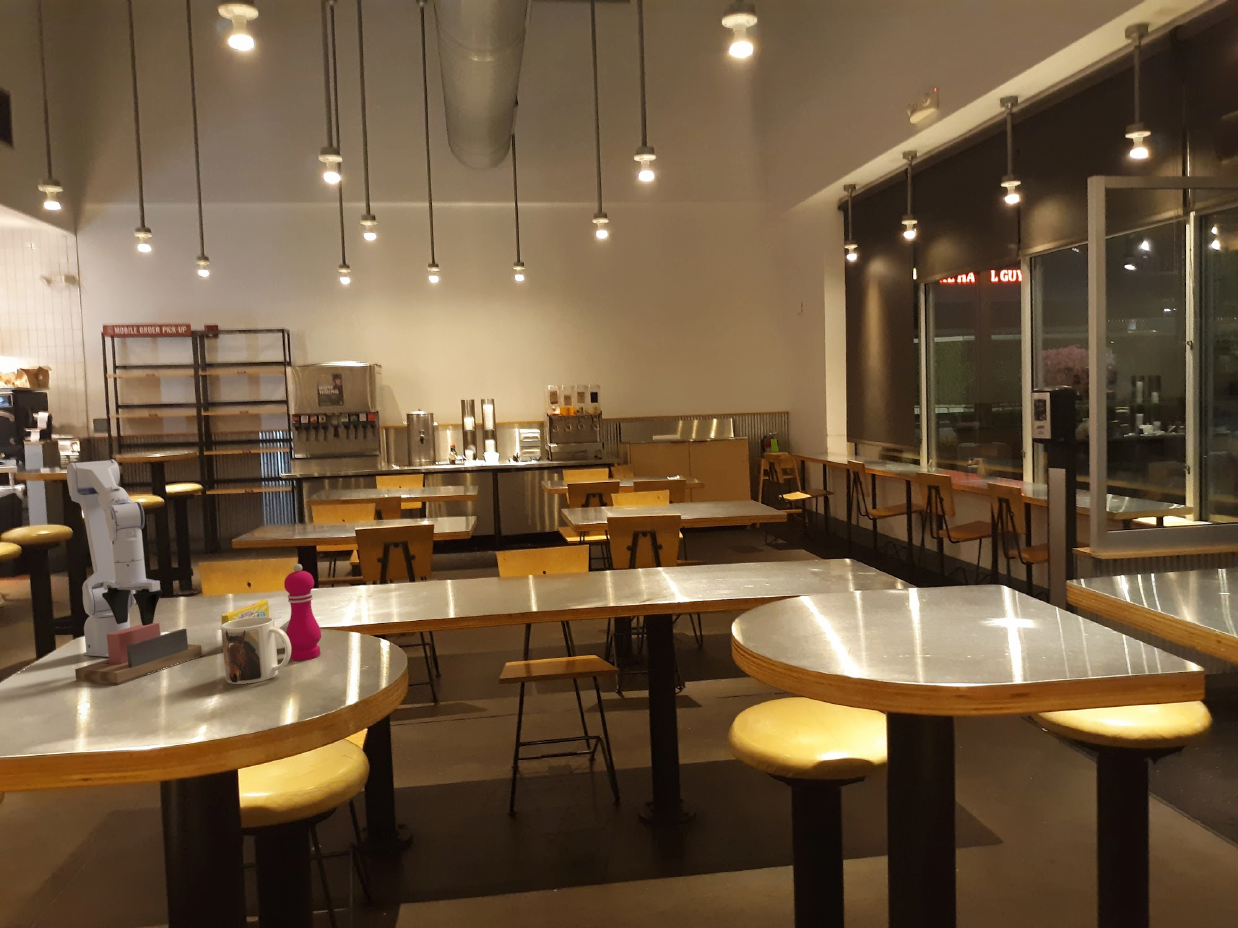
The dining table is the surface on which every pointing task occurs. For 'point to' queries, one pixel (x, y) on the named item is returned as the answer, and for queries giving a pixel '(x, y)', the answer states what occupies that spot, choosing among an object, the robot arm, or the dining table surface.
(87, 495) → the robot arm
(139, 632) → the pink rectangular block
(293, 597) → the pepper mill
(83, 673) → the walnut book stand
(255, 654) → the mug
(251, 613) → the candy box
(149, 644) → the dark gray flat bar
